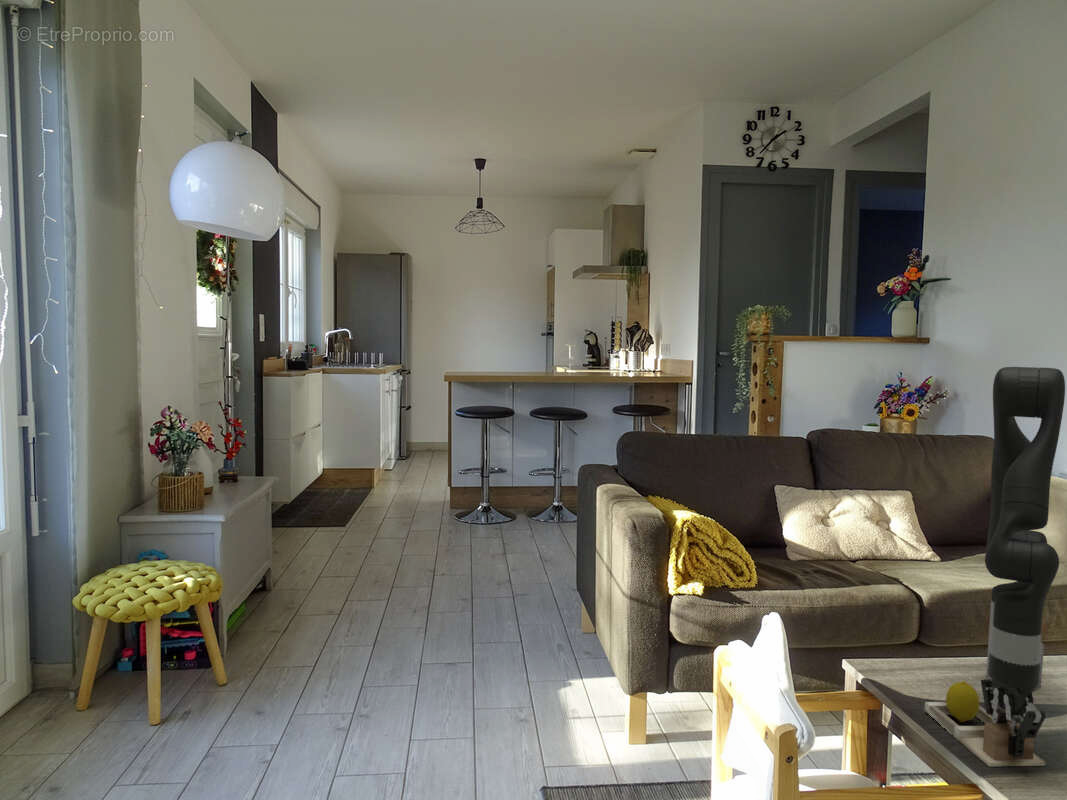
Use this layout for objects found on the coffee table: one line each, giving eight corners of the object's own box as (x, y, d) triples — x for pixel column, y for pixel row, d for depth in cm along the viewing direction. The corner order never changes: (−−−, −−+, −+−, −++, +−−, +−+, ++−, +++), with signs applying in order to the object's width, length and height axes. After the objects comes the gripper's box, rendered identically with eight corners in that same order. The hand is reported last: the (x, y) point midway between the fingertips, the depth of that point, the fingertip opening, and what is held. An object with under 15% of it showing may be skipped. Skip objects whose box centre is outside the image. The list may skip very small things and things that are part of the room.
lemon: (982, 730, 144) (985, 689, 144) (950, 727, 146) (952, 686, 145) (971, 716, 150) (974, 676, 149) (941, 713, 151) (943, 673, 150)
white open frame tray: (973, 711, 152) (975, 683, 152) (1045, 765, 133) (1047, 734, 132) (924, 712, 151) (926, 684, 151) (989, 766, 132) (991, 734, 131)
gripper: (1066, 671, 126) (1058, 772, 128) (1008, 638, 140) (1001, 729, 142) (1022, 672, 126) (1014, 773, 127) (968, 638, 140) (962, 730, 141)
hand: (1007, 749), depth 135 cm, fingers closed on white open frame tray, 3 cm apart
